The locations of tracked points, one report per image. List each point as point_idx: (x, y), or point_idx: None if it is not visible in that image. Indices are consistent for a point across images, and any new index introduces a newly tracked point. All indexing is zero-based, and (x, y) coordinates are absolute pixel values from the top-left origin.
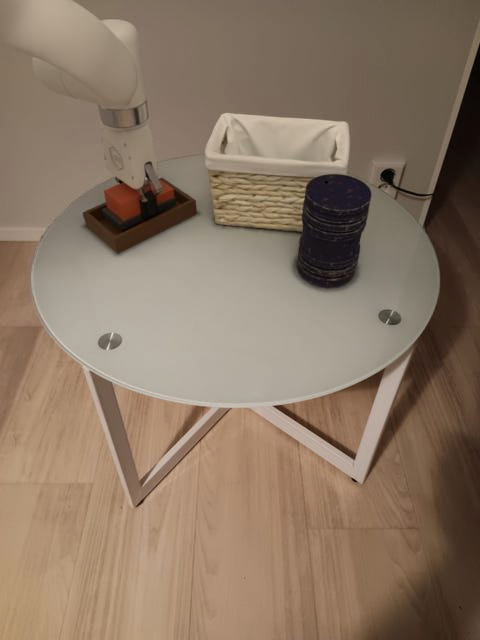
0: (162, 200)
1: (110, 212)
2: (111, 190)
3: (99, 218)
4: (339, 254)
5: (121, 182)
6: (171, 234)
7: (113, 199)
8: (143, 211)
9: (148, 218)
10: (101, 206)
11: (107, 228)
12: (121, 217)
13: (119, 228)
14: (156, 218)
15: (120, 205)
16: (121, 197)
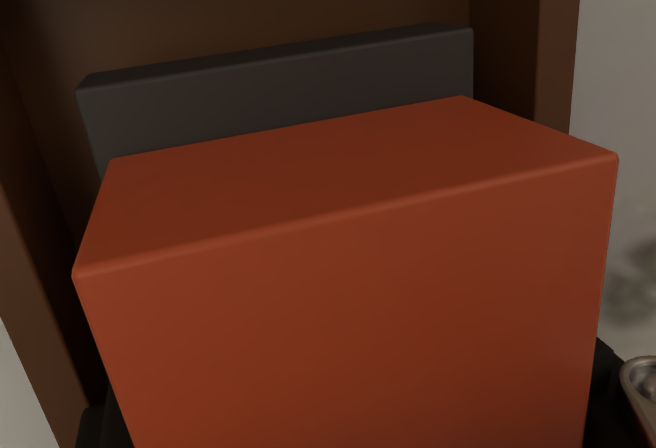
0: None
1: (364, 89)
2: (541, 260)
3: (475, 1)
4: None
5: (611, 400)
6: (20, 404)
7: (327, 205)
8: (108, 402)
9: None
10: (541, 62)
11: (324, 5)
12: (160, 155)
13: (118, 70)
14: (63, 431)
15: (101, 246)
16: (277, 335)
